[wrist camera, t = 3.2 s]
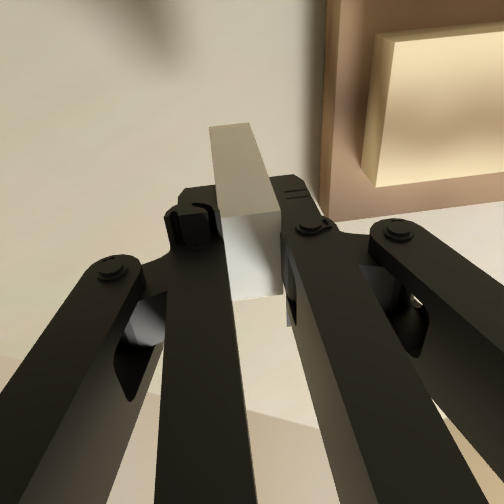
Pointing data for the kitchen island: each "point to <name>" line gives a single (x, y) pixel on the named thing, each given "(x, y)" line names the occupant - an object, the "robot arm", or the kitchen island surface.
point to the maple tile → (435, 104)
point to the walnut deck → (356, 99)
